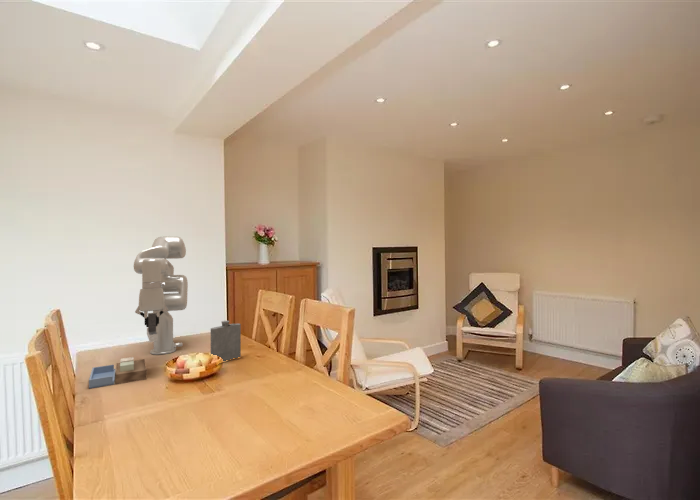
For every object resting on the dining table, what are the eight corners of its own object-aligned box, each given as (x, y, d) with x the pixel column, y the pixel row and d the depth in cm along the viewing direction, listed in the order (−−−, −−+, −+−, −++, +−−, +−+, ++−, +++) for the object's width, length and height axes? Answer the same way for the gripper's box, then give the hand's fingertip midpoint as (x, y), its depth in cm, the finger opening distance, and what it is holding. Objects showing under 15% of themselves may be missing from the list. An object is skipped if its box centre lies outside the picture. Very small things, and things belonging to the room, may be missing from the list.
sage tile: (133, 366, 159) (133, 360, 159) (133, 369, 155) (133, 364, 155) (120, 368, 156) (120, 362, 156) (120, 371, 152) (120, 366, 152)
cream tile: (133, 362, 165) (133, 356, 165) (133, 365, 161) (133, 359, 161) (120, 364, 162) (120, 358, 162) (120, 367, 158) (120, 361, 158)
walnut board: (144, 367, 170) (144, 359, 170) (146, 379, 155) (146, 369, 155) (116, 371, 164) (116, 363, 164) (115, 384, 149) (115, 374, 149)
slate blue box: (115, 371, 164) (115, 364, 164) (114, 384, 149) (114, 376, 149) (92, 375, 159) (92, 367, 159) (89, 388, 144) (88, 380, 144)
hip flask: (212, 365, 173) (212, 324, 173) (208, 363, 175) (208, 323, 175) (241, 358, 185) (241, 319, 185) (237, 356, 187) (237, 318, 187)
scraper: (154, 333, 171) (154, 310, 171) (157, 340, 158) (157, 315, 158) (146, 334, 170) (146, 311, 170) (149, 341, 156) (149, 316, 156)
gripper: (170, 284, 171) (170, 322, 171) (130, 286, 162) (130, 326, 162) (172, 285, 165) (172, 325, 165) (131, 287, 156) (131, 329, 156)
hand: (151, 325), depth 164 cm, fingers closed on scraper, 3 cm apart
